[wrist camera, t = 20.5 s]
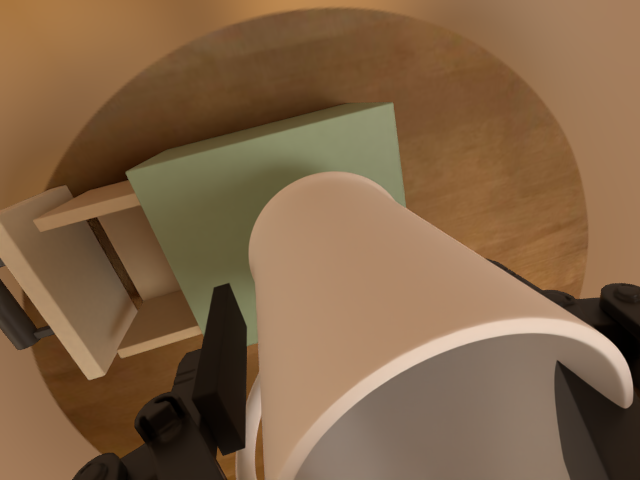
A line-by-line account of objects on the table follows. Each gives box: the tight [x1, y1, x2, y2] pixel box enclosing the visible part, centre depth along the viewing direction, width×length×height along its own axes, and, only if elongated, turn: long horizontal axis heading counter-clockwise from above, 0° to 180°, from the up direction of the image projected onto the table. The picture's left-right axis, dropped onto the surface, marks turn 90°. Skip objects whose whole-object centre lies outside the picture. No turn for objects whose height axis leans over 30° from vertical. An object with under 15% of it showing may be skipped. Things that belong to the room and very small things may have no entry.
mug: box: [236, 171, 633, 480], centre depth 12 cm, size 12×8×12 cm
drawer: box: [0, 180, 202, 380], centre depth 25 cm, size 20×13×8 cm, turn 103°
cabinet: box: [126, 102, 406, 346], centre depth 26 cm, size 16×14×10 cm
